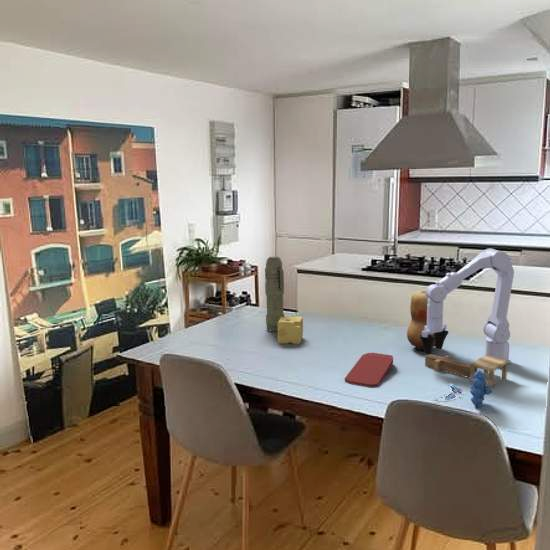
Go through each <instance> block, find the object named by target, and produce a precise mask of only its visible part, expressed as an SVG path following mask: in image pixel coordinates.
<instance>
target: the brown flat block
mask: <svg viewBox="0 0 550 550" xmlns="http://www.w3.org/2000/svg"><path fill="white" fill-rule="evenodd" d="M483 373H484V375H485V377H484V379H485V381H486V382H485V383H488V382H489V372H488V373H485V372H484V371H483ZM501 379H502V375H497V374H494V382H493V386H494V385H496V384H497V383H499V382H501ZM498 381H499V382H498ZM495 383H496V384H495Z"/></svg>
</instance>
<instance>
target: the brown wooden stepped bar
mask: <svg viewBox="0 0 550 550" xmlns="http://www.w3.org/2000/svg"><path fill="white" fill-rule="evenodd" d="M424 357H425V360H424V366H425V367H427V366H428V368H431V367H432V369H433V371H434V370H435V371H434V372H437V371H438V372H439V370H440V371H442V370H445V371H444V372H446V371H448V373H450V372H452V373H451V374H454V373H456V374H455V375H457V374H459V376H461V375H463V377H465V376H467V377H466V378H469V377H470V369H471V366H470V363H468V362H464V361H460V360H456V359H452V358H450V357H449V356H448V355H444V356H439V355H435V354H432V353H431V354H426V356H424ZM476 372H478V368H475V373H476Z"/></svg>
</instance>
